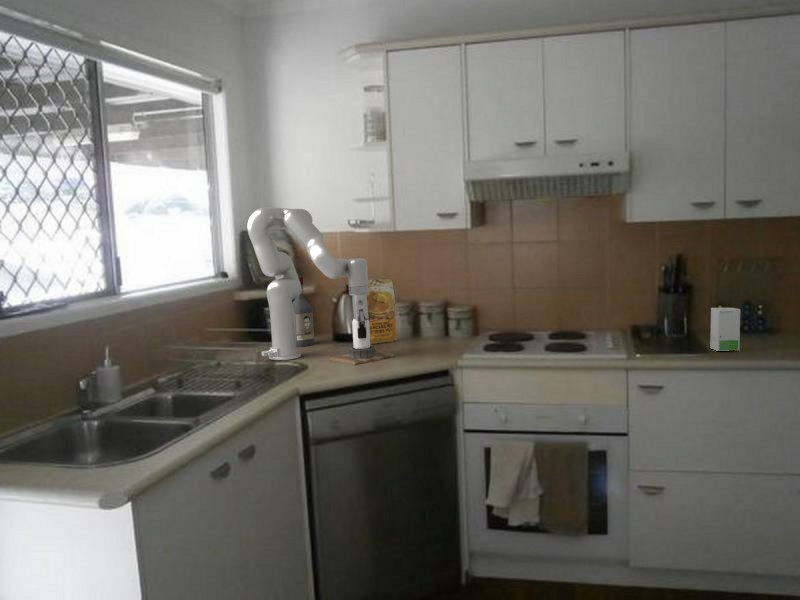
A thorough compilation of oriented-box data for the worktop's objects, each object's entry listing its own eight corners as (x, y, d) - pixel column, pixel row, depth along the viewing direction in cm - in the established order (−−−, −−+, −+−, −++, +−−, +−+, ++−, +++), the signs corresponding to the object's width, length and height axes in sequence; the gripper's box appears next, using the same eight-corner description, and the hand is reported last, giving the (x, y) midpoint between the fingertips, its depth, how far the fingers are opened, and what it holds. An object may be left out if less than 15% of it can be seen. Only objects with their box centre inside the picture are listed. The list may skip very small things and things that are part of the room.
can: (356, 346, 267) (354, 316, 266) (372, 346, 266) (370, 316, 265) (351, 349, 261) (350, 318, 260) (368, 349, 260) (366, 318, 258)
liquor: (288, 345, 300) (283, 277, 297) (305, 342, 306) (301, 276, 303) (299, 347, 294) (295, 278, 290) (317, 344, 300) (313, 276, 296)
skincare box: (717, 352, 245) (717, 309, 244) (709, 349, 252) (709, 307, 250) (740, 351, 245) (741, 308, 244) (731, 348, 252) (732, 306, 250)
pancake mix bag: (356, 343, 297) (352, 280, 294) (395, 338, 305) (392, 276, 302) (362, 345, 291) (358, 280, 288) (401, 340, 299) (399, 277, 296)
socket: (354, 365, 251) (354, 354, 251) (329, 359, 263) (328, 349, 263) (395, 356, 264) (394, 346, 264) (369, 351, 276) (368, 342, 276)
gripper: (371, 292, 253) (373, 339, 255) (365, 288, 270) (368, 332, 272) (351, 293, 252) (353, 341, 254) (346, 289, 269) (349, 334, 271)
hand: (361, 336), depth 263 cm, fingers closed on can, 6 cm apart
